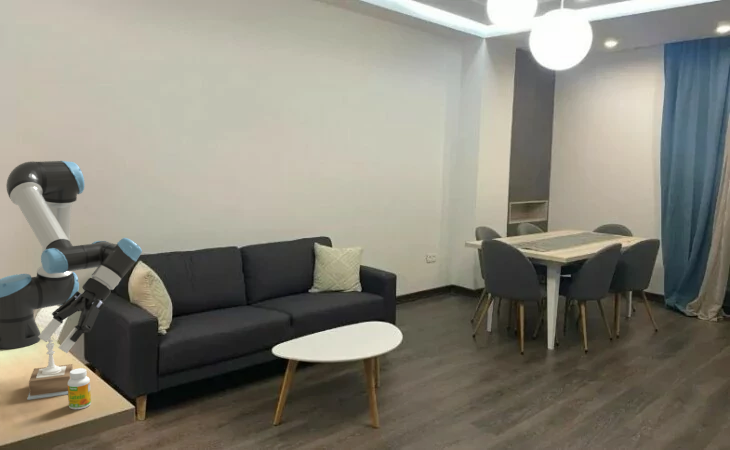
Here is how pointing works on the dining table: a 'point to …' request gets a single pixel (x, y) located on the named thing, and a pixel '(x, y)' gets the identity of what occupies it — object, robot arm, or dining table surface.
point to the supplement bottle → (79, 389)
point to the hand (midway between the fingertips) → (51, 345)
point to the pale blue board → (47, 395)
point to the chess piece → (51, 361)
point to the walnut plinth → (49, 381)
